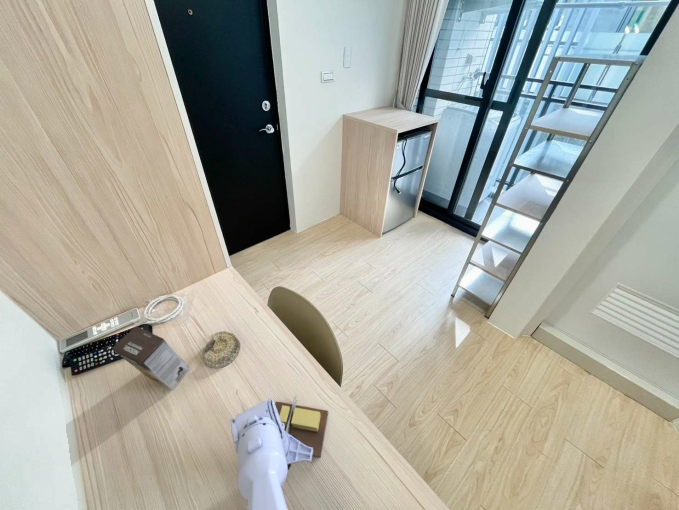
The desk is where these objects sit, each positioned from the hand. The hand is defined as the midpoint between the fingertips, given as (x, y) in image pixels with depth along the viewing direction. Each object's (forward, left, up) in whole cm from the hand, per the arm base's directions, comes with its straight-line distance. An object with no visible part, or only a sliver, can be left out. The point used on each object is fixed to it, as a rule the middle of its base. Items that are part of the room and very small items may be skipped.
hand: (280, 456), depth 56 cm
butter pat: (+8, +2, -2) cm, 8 cm away
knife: (+4, 0, -2) cm, 4 cm away
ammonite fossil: (+21, +25, -3) cm, 32 cm away
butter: (+8, -3, -2) cm, 8 cm away
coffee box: (+13, +36, -3) cm, 38 cm away
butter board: (+6, -1, -3) cm, 7 cm away
